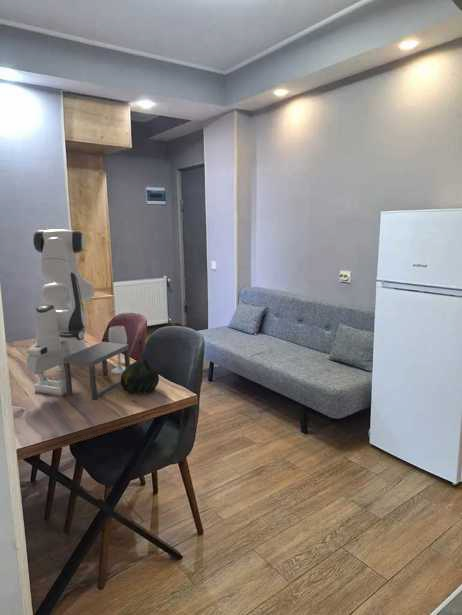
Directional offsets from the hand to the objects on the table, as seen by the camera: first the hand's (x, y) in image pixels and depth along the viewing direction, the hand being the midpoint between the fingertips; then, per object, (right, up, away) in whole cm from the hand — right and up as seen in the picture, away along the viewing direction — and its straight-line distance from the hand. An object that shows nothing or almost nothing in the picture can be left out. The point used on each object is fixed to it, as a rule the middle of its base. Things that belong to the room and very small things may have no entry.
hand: (52, 377), depth 173 cm
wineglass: (+22, -1, +24) cm, 32 cm away
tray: (0, -6, +2) cm, 6 cm away
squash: (+37, -6, 0) cm, 37 cm away
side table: (+18, -5, +5) cm, 20 cm away
